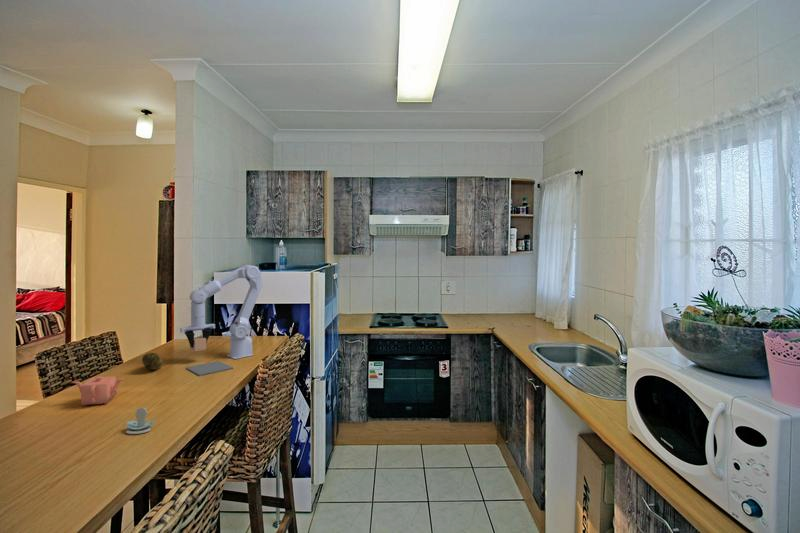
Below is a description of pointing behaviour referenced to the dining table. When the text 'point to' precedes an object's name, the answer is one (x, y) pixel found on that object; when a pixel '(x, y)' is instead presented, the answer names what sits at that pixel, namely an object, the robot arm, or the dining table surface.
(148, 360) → the potato
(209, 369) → the mat
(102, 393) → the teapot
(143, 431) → the pacifier
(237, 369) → the dining table surface
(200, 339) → the cube
